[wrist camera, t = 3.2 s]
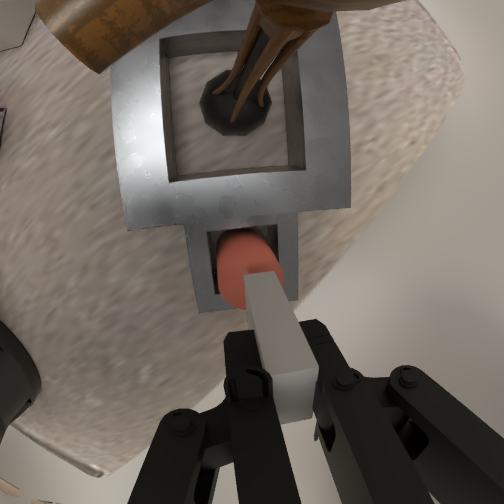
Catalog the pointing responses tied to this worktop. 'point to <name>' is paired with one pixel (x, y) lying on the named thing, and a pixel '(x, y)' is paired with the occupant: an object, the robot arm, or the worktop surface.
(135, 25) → the wooden tabletop sculpture
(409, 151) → the worktop surface
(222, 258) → the release plunger
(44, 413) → the worktop surface
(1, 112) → the candy bar box
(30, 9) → the medicine bottle
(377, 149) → the worktop surface
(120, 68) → the socket block
